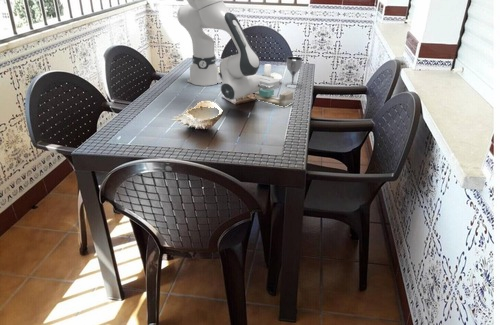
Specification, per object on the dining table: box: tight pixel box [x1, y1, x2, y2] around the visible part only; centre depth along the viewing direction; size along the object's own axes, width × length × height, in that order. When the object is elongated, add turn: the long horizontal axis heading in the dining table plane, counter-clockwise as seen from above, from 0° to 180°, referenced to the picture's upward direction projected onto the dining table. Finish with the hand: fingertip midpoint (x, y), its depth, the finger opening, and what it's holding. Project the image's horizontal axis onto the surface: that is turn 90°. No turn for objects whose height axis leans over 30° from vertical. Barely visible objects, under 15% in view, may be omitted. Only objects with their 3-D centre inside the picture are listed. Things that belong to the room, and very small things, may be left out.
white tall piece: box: [259, 63, 275, 97], centre depth 190 cm, size 5×5×14 cm
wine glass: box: [286, 55, 303, 85], centre depth 212 cm, size 8×8×15 cm
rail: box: [255, 88, 295, 107], centre depth 192 cm, size 22×7×6 cm, turn 52°
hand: (268, 77), depth 190 cm, fingers closed on white tall piece, 3 cm apart
